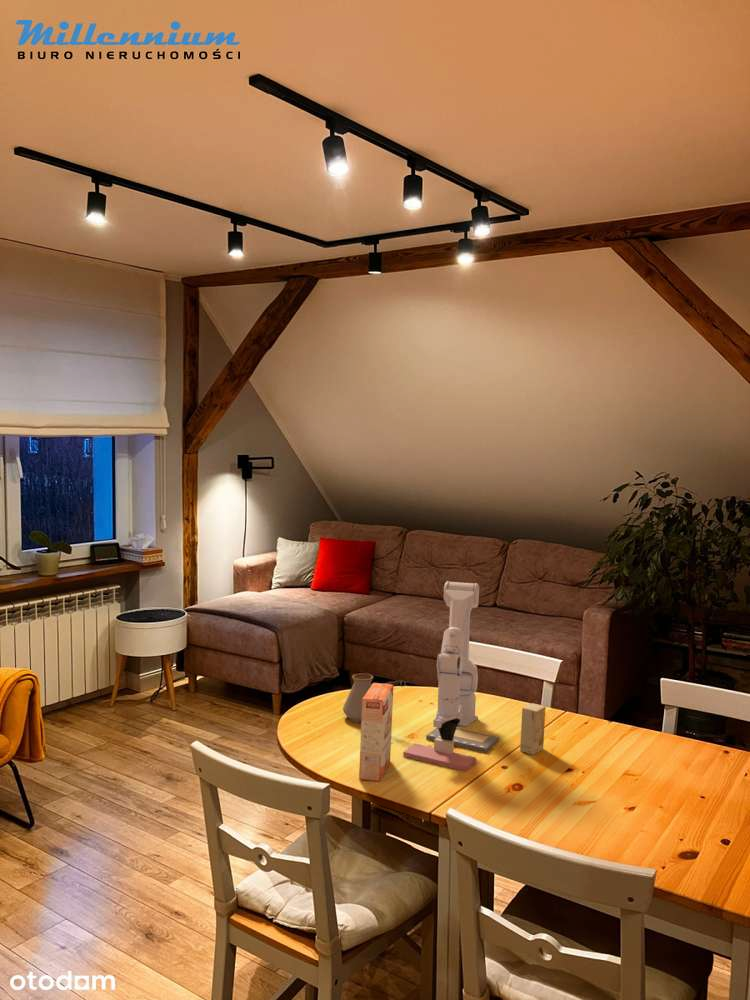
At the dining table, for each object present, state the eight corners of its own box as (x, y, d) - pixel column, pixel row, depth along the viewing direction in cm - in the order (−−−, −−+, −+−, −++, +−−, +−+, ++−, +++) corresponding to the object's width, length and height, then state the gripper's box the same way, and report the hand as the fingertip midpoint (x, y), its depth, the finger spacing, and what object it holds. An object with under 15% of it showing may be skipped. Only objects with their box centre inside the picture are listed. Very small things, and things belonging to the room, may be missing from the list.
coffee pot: (334, 718, 247) (335, 669, 245) (359, 708, 255) (360, 661, 254) (390, 736, 233) (392, 685, 232) (414, 725, 242) (416, 676, 241)
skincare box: (533, 755, 222) (535, 711, 221) (519, 751, 225) (521, 708, 224) (544, 748, 227) (546, 705, 226) (530, 744, 230) (532, 702, 229)
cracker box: (381, 783, 203) (384, 700, 201) (358, 780, 204) (360, 698, 202) (392, 760, 216) (394, 683, 214) (369, 758, 217) (372, 681, 216)
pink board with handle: (414, 747, 225) (415, 732, 225) (475, 761, 217) (476, 746, 216) (403, 756, 219) (403, 740, 219) (465, 771, 211) (466, 755, 210)
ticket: (440, 728, 240) (440, 723, 240) (498, 741, 232) (499, 736, 232) (426, 739, 232) (426, 734, 232) (486, 753, 223) (486, 748, 223)
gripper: (451, 707, 212) (449, 757, 214) (472, 692, 225) (470, 740, 226) (426, 701, 216) (425, 751, 217) (449, 687, 228) (447, 734, 230)
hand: (446, 745), depth 222 cm, fingers closed
